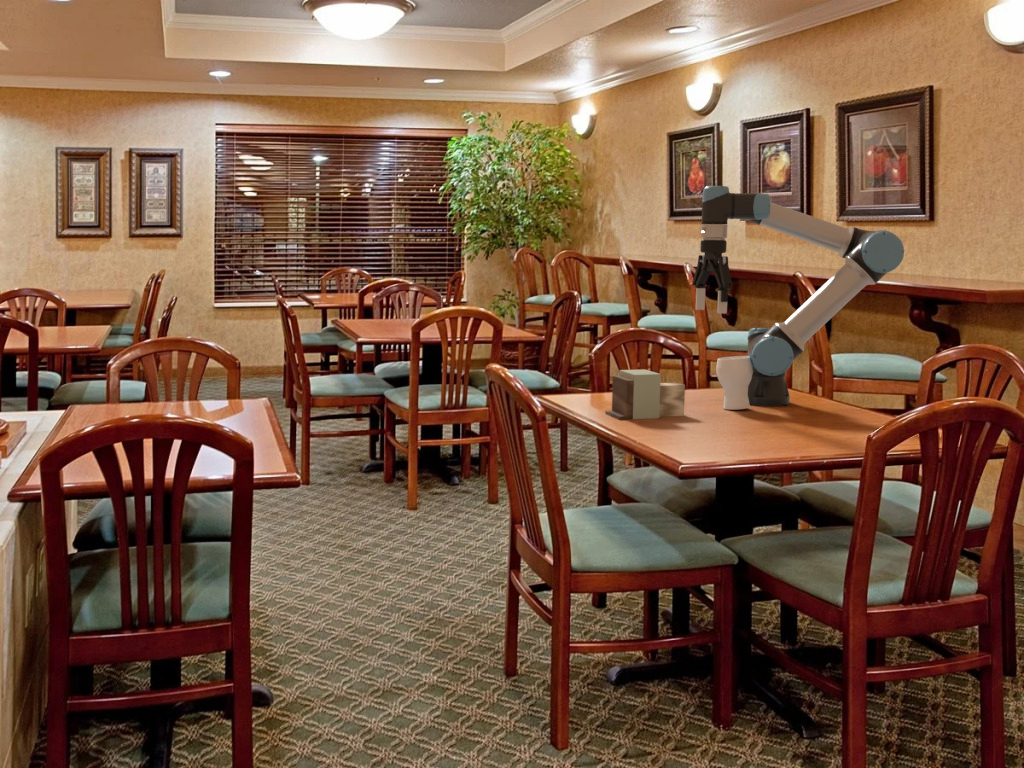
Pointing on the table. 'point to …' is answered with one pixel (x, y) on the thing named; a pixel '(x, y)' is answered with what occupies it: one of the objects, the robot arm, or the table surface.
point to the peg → (671, 399)
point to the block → (644, 392)
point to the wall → (622, 398)
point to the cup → (735, 380)
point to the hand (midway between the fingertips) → (710, 311)
